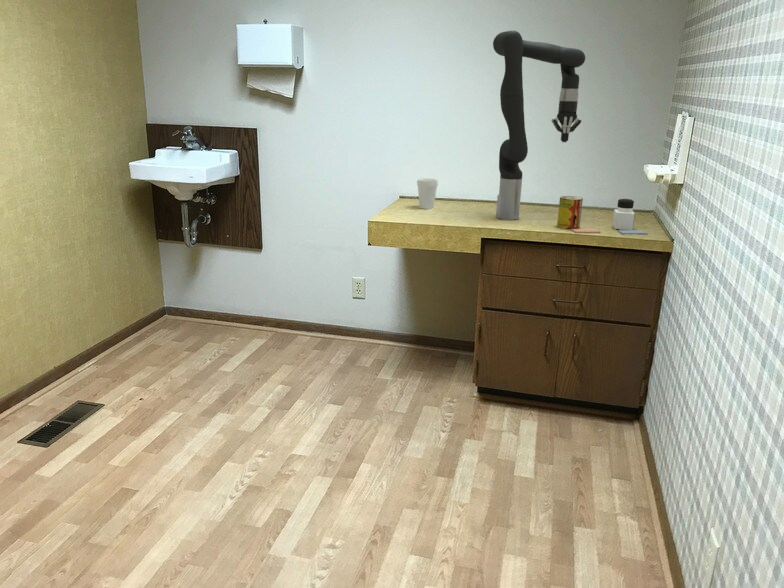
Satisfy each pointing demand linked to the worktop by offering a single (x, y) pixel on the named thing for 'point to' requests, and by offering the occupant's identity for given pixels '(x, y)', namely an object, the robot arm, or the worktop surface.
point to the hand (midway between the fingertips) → (564, 142)
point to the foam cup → (427, 192)
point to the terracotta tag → (585, 230)
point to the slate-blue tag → (632, 232)
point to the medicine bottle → (624, 215)
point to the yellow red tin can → (569, 212)
